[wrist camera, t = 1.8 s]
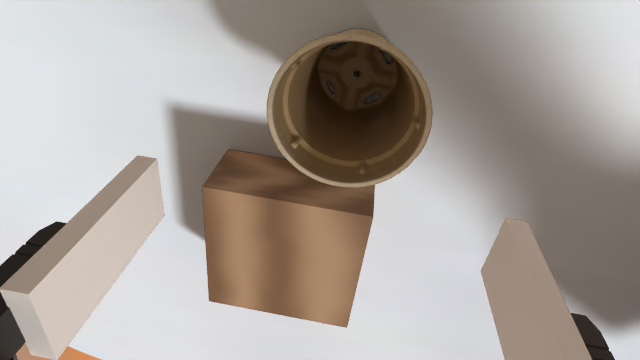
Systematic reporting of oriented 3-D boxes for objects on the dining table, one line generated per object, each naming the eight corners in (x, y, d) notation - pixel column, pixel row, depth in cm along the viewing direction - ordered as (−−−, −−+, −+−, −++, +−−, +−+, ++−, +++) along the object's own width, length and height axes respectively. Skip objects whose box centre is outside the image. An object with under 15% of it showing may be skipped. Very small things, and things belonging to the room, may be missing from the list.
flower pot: (369, 150, 34) (365, 213, 26) (273, 86, 32) (239, 135, 25) (449, 56, 29) (470, 102, 22) (340, -25, 27) (322, -5, 20)
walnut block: (375, 174, 35) (373, 216, 30) (351, 278, 42) (346, 327, 37) (228, 149, 35) (202, 186, 30) (230, 256, 43) (209, 300, 38)
